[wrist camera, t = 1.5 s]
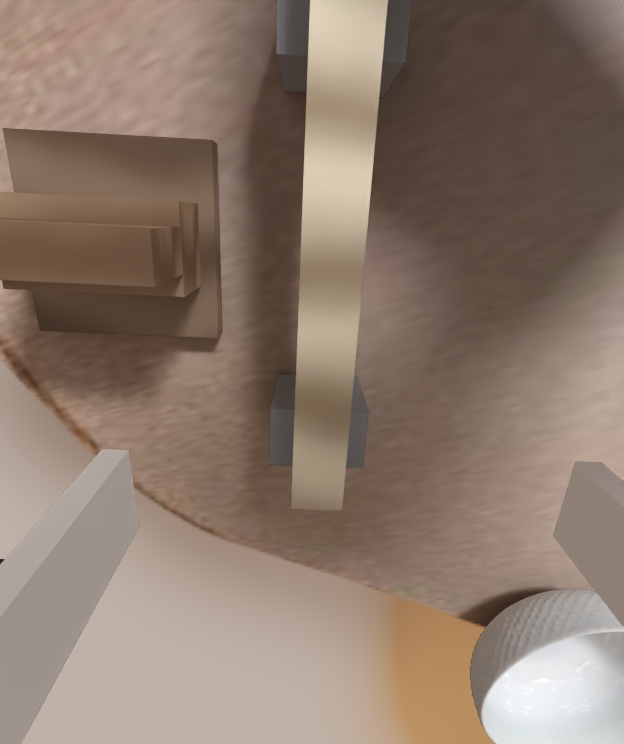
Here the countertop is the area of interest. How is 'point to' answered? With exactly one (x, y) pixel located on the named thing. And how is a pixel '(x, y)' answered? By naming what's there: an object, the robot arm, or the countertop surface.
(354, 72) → the wooden bar
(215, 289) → the ridge stand
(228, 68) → the countertop surface
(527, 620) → the cereal bowl
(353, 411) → the bar rest
